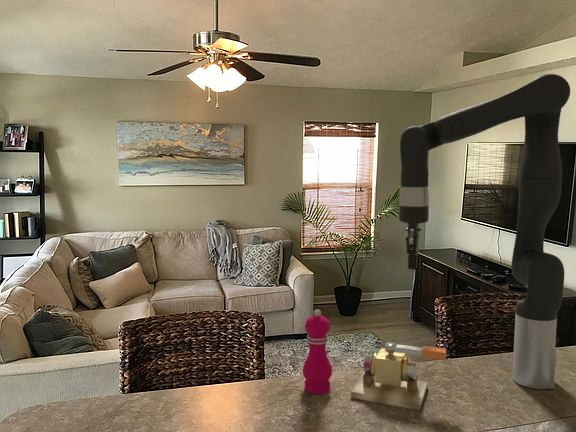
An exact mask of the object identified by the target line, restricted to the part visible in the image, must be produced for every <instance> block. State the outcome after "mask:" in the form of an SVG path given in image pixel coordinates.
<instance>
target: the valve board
mask: <svg viewBox="0 0 576 432" xmlns="http://www.w3.org/2000/svg"><path fill="white" fill-rule="evenodd" d="M427 390H428V381H425V380H418V375H417V376H416V379H415V380H414V379H408V381H407V382H405V381H403V382H402V384H401V386H394V385H388V384H383V383H377V382H375V377H374V376H371V372H365V371H363V373H362V374H361V375H360V377H359V379H357V382H356V384H355V385H354V386H353V387H352V390H351V392H350V397H351V399H355V400H356V399H357V400H361V401H368V402H373V403H378V404H383V405H389V406H395V407H400V408H404V409H409V410H415V411H421V409H422V407H423V403H424V400H425V396H426V393H427Z"/></svg>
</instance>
